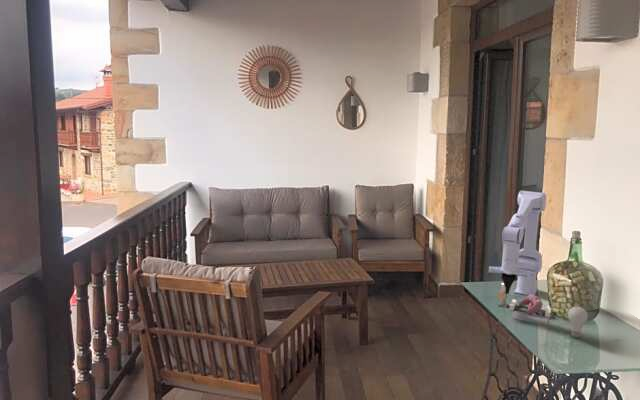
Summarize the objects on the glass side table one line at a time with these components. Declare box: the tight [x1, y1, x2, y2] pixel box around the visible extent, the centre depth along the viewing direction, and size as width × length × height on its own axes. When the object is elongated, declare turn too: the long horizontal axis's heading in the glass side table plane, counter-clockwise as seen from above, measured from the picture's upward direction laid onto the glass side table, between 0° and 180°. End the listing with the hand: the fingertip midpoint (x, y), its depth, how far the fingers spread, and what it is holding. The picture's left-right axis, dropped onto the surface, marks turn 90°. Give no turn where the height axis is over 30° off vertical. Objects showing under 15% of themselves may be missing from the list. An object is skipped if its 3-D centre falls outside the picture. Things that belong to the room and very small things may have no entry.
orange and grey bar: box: [497, 282, 506, 299], centre depth 199 cm, size 13×3×2 cm, turn 155°
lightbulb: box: [567, 306, 589, 339], centre depth 177 cm, size 6×6×11 cm
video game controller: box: [518, 294, 544, 314], centre depth 200 cm, size 10×5×7 cm, turn 179°
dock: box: [498, 292, 552, 318], centre depth 201 cm, size 7×19×7 cm, turn 61°
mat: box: [511, 310, 550, 326], centre depth 193 cm, size 8×12×1 cm, turn 61°
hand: (507, 292), depth 197 cm, fingers closed
